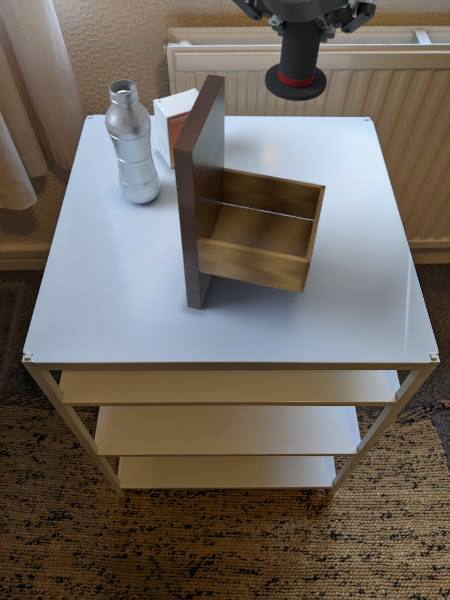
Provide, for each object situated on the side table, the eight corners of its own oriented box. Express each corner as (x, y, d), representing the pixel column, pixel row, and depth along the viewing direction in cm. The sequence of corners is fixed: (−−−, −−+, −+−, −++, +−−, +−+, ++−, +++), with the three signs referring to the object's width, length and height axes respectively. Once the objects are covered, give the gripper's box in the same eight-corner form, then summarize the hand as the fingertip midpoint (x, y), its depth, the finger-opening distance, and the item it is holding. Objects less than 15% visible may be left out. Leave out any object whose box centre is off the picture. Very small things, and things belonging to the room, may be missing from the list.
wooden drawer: (308, 259, 77) (347, 95, 54) (294, 330, 70) (331, 175, 47) (211, 239, 79) (207, 73, 56) (187, 306, 72) (172, 147, 49)
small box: (170, 169, 88) (165, 118, 80) (158, 151, 91) (151, 99, 82) (211, 156, 91) (210, 104, 82) (197, 138, 93) (195, 86, 85)
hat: (330, 70, 59) (344, -2, 52) (321, 105, 55) (335, 32, 48) (271, 62, 60) (278, -11, 53) (258, 95, 56) (264, 22, 49)
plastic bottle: (164, 205, 83) (150, 97, 67) (123, 211, 83) (99, 103, 66) (158, 179, 87) (144, 70, 70) (119, 184, 86) (95, 76, 70)
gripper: (410, -99, 36) (379, 1, 53) (217, -119, 38) (246, -17, 54) (384, 14, 37) (362, 76, 54) (200, -11, 39) (233, 57, 56)
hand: (304, 29), depth 54 cm, fingers closed on hat, 4 cm apart
